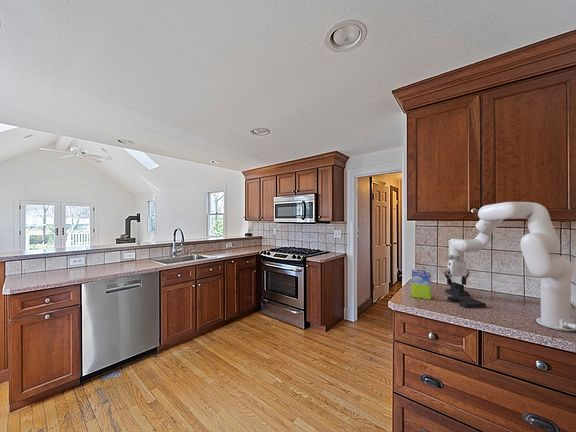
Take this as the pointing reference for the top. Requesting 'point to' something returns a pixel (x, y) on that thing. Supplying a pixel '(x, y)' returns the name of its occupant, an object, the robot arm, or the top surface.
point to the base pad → (467, 301)
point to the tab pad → (457, 290)
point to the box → (421, 284)
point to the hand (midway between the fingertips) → (456, 284)
